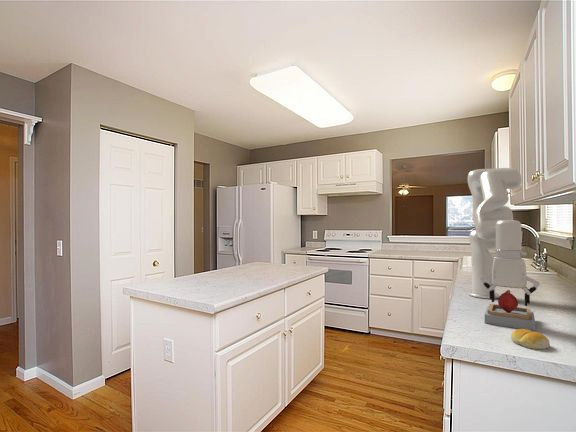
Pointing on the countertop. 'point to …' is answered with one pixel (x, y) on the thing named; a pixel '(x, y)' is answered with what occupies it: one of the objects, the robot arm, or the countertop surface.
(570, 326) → the countertop surface
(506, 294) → the pomegranate
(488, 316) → the stand
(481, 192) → the robot arm
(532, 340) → the bread roll
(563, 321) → the countertop surface
